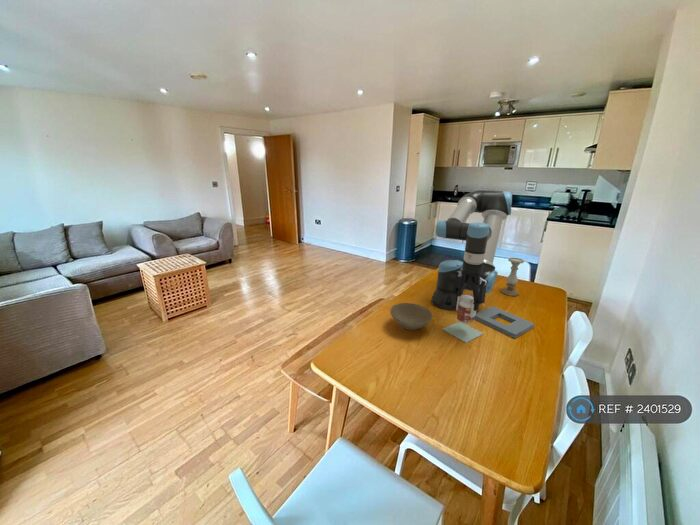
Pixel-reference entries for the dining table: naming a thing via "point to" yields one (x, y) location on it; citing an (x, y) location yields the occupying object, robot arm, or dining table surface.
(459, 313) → the pill bottle
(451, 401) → the dining table surface
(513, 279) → the candle holder
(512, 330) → the socket block
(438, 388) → the dining table surface
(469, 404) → the dining table surface
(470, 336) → the mat
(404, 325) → the bowl
